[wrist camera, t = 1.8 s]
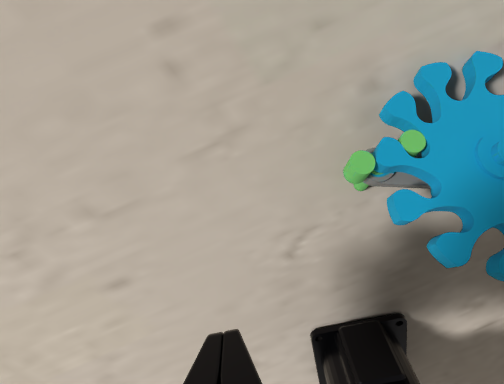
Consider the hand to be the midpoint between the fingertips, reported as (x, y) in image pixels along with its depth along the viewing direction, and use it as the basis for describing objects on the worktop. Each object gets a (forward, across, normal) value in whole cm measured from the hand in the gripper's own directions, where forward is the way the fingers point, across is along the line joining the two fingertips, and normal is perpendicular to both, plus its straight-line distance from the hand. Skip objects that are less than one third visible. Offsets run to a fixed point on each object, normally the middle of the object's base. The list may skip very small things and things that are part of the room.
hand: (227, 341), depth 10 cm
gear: (+10, -11, 0) cm, 15 cm away
